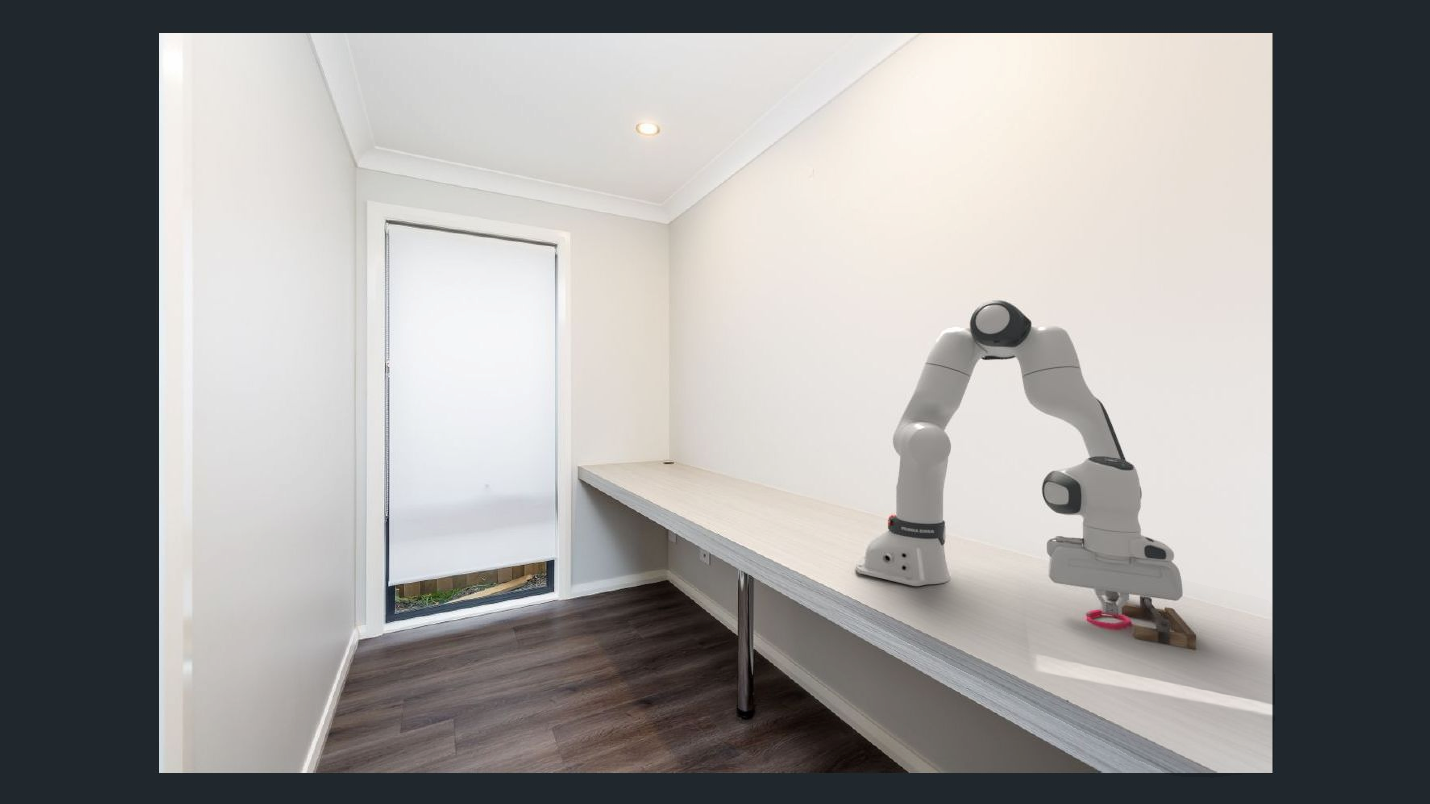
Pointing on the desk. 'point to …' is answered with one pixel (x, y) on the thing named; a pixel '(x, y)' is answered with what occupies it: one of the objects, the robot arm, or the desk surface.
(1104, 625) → the fitness band
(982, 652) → the desk surface
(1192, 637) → the wooden bar clamp
